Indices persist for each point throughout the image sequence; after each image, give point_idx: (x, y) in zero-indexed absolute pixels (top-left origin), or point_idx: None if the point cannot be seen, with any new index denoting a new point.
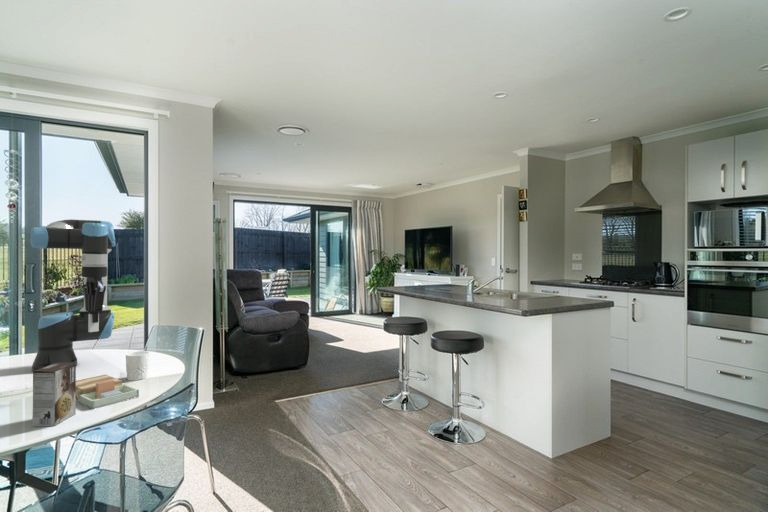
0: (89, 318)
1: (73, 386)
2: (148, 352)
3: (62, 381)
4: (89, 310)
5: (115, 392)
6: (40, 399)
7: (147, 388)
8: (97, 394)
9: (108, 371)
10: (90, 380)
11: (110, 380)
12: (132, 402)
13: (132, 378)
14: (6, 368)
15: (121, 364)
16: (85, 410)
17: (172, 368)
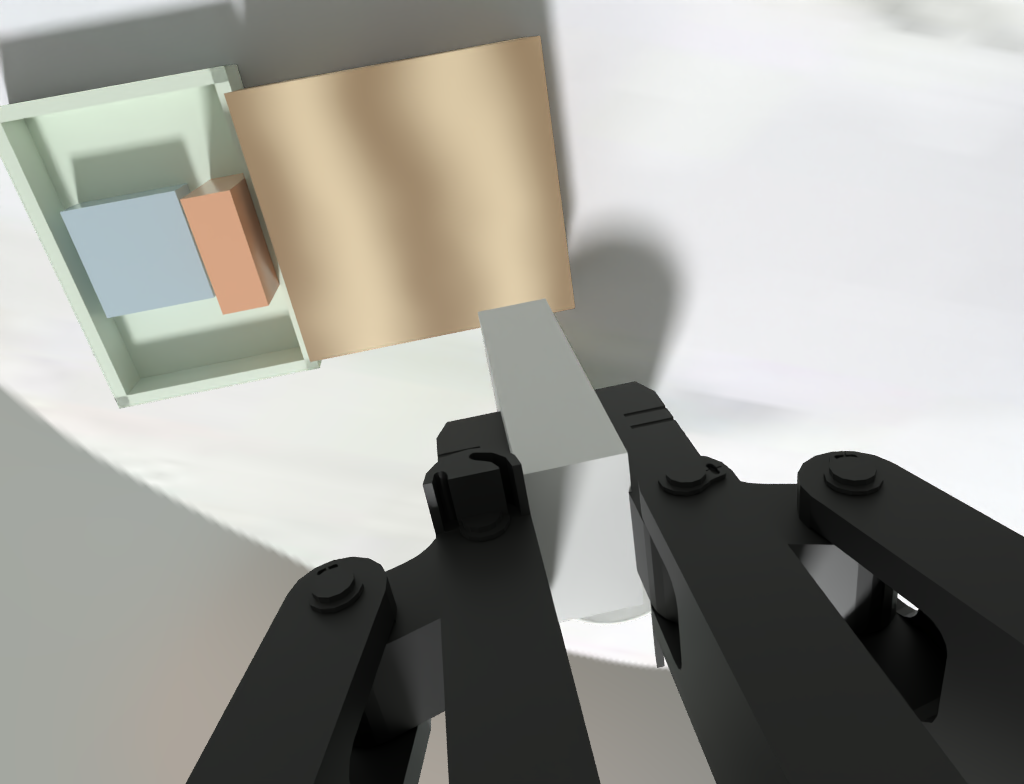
0: (543, 408)
1: None
2: (586, 622)
3: None
4: (646, 518)
5: (139, 281)
6: None
7: (298, 459)
8: (214, 181)
9: (876, 358)
10: (477, 191)
11: (242, 291)
12: (32, 335)
13: None
14: None
15: (971, 447)
16: (10, 62)
17: (633, 634)
